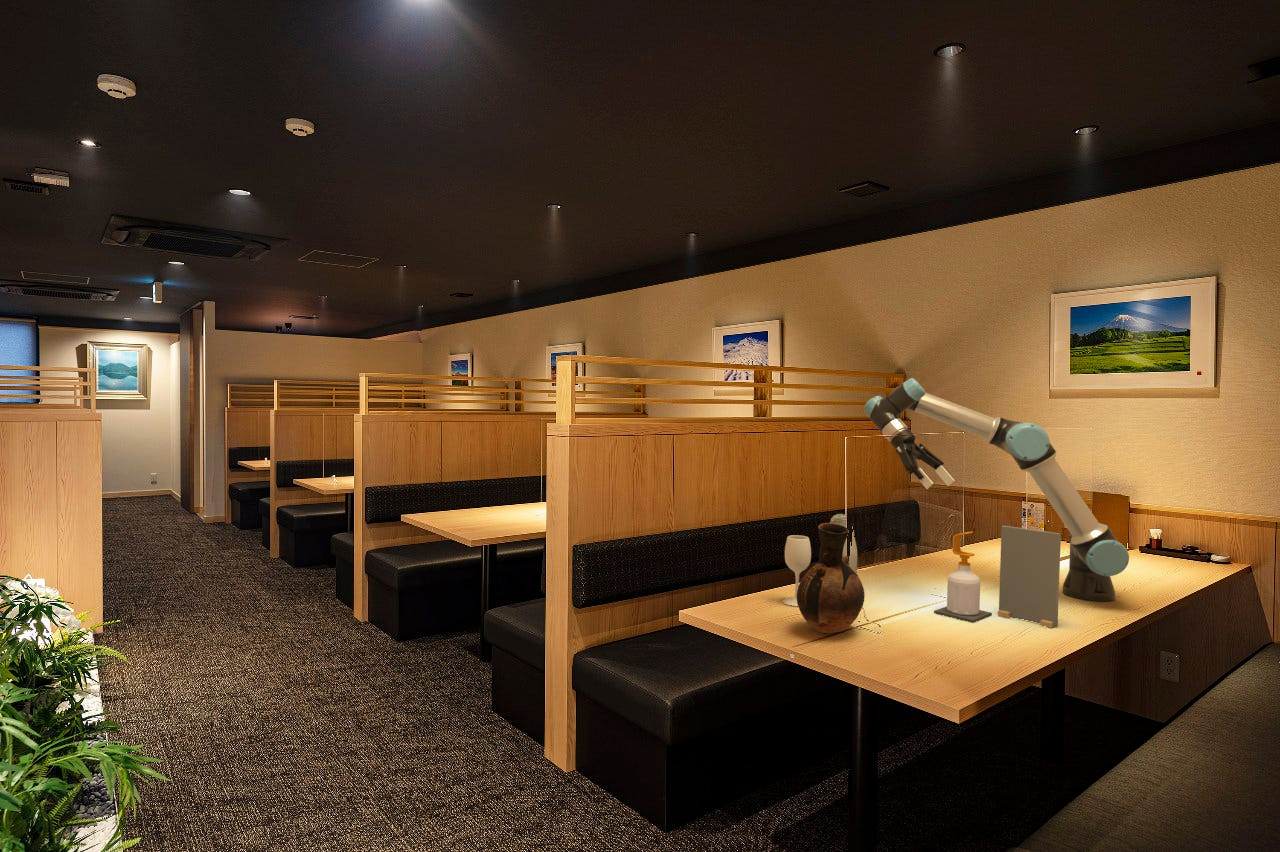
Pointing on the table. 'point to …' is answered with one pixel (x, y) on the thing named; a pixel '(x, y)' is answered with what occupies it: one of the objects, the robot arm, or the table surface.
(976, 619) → the coaster
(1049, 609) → the divider
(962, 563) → the soap bottle
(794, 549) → the wineglass
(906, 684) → the table surface
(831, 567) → the ceramic vessel
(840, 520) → the glass bottle
